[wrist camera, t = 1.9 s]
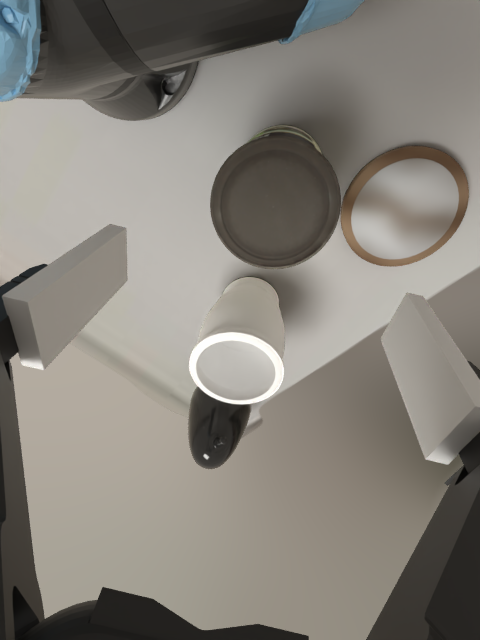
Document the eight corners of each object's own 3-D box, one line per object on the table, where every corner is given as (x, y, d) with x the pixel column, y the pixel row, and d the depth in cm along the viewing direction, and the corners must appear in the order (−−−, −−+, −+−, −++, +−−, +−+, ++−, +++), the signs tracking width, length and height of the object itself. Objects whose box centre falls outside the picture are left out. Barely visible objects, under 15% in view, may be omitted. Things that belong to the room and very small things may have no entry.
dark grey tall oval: (264, 381, 55) (256, 462, 43) (237, 413, 61) (223, 493, 48) (212, 355, 54) (187, 432, 41) (189, 391, 59) (161, 468, 47)
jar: (247, 254, 43) (229, 314, 30) (301, 301, 46) (305, 374, 33) (201, 302, 48) (169, 370, 36) (252, 342, 51) (239, 418, 38)
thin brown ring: (352, 144, 34) (355, 146, 33) (483, 146, 33) (491, 148, 31) (332, 258, 41) (333, 263, 40) (438, 264, 40) (443, 270, 39)
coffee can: (218, 181, 38) (185, 214, 26) (278, 101, 33) (270, 99, 21) (280, 238, 41) (275, 291, 29) (345, 173, 36) (370, 205, 24)
